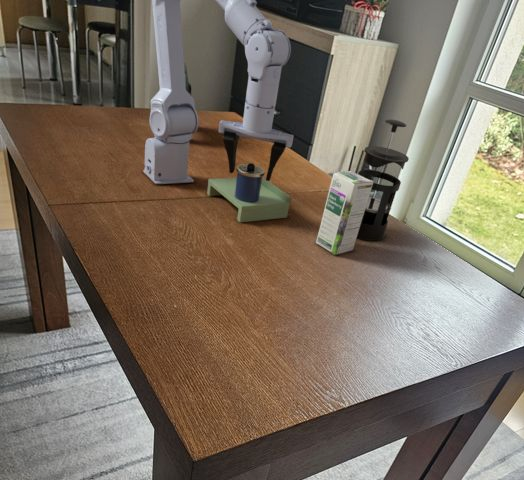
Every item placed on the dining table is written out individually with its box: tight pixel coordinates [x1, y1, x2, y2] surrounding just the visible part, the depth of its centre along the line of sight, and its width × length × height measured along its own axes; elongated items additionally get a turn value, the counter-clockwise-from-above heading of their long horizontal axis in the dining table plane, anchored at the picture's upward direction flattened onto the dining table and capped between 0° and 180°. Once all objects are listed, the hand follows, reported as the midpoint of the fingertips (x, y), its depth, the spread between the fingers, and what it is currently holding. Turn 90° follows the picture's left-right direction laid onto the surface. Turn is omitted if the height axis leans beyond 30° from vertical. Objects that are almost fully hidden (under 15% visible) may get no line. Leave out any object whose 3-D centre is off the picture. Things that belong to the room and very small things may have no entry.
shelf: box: [206, 176, 292, 223], centre depth 111 cm, size 12×15×5 cm
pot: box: [235, 162, 266, 202], centre depth 104 cm, size 6×6×7 cm
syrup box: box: [315, 170, 374, 256], centre depth 98 cm, size 6×6×14 cm
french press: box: [356, 118, 410, 242], centre depth 105 cm, size 12×9×23 cm
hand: (250, 175), depth 104 cm, fingers open, 7 cm apart
